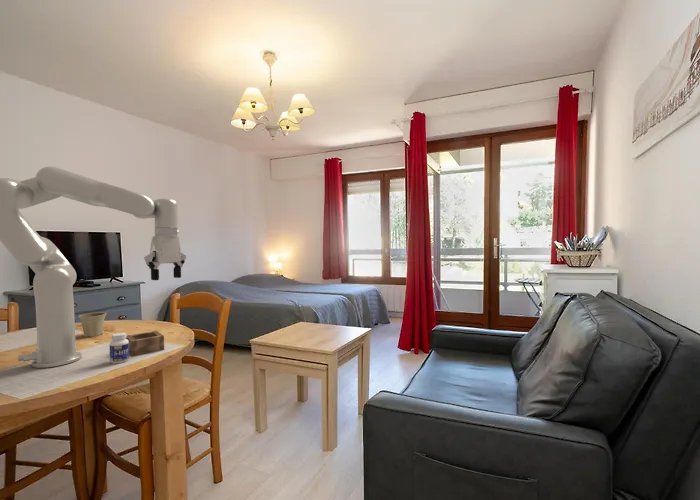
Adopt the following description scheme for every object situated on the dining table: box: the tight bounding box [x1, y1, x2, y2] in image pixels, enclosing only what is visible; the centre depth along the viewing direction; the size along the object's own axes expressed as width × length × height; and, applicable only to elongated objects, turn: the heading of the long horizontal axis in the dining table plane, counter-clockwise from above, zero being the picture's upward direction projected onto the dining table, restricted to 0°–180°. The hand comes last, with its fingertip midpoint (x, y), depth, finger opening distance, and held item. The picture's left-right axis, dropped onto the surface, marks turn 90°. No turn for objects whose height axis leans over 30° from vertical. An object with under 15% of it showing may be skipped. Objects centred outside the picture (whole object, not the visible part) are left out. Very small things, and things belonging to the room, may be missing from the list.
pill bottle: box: [109, 332, 130, 364], centre depth 115 cm, size 5×5×9 cm
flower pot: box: [78, 311, 107, 338], centre depth 147 cm, size 9×9×9 cm
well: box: [126, 330, 165, 357], centre depth 127 cm, size 10×10×5 cm
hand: (166, 278), depth 131 cm, fingers open, 9 cm apart
